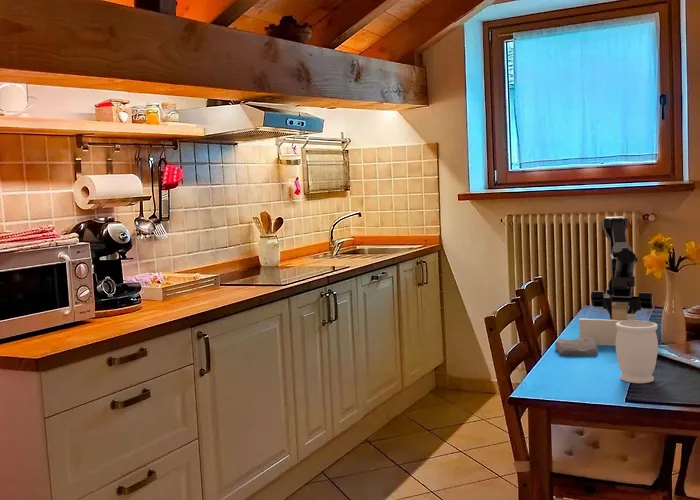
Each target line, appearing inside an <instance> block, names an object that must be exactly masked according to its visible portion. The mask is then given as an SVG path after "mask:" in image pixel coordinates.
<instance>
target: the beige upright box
mask: <svg viewBox="0 0 700 500" xmlns="http://www.w3.org/2000/svg"><path fill="white" fill-rule="evenodd" d="M578 319H579V320H578V321H579V322H578V327H579V329H578V331H579V332H578V334H579V337H578V338H582V337H590V338H593V339H594V341H595V343H596V345H597V346H609V347H610V346H612V347H616V335H617V331H618V329H617V328H616V323H617V322H620V321H626V320H609V319H605V318H604V319H602V318H582V317H581V318H578Z"/></svg>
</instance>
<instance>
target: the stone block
mask: <svg viewBox="0 0 700 500" xmlns="http://www.w3.org/2000/svg"><path fill="white" fill-rule="evenodd" d="M554 346H555V347H554V348H555V350H556V351H557V352H558V353H559V355H562V356H563V355H564V356H566V355H567V356H583V357H584V356H587V357H588V356H589V357H590V356H591V357H592V356H598V355H599V351H598V345H596V343H595V341H594V339H593V338H590V337H582V338H579V337H576V338H574V339H564V338H558V339H557V340H555V344H554Z"/></svg>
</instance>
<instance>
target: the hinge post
mask: <svg viewBox="0 0 700 500" xmlns="http://www.w3.org/2000/svg"><path fill="white" fill-rule="evenodd" d="M636 315H637V314H636V313H635V314H627V320H628V319H633V320H637V319H636Z"/></svg>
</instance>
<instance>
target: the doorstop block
mask: <svg viewBox="0 0 700 500" xmlns="http://www.w3.org/2000/svg"><path fill="white" fill-rule="evenodd" d="M628 311H629V305H628V303H615V302H614V303H613V304H612V320H626V321H627V314H628Z"/></svg>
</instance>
